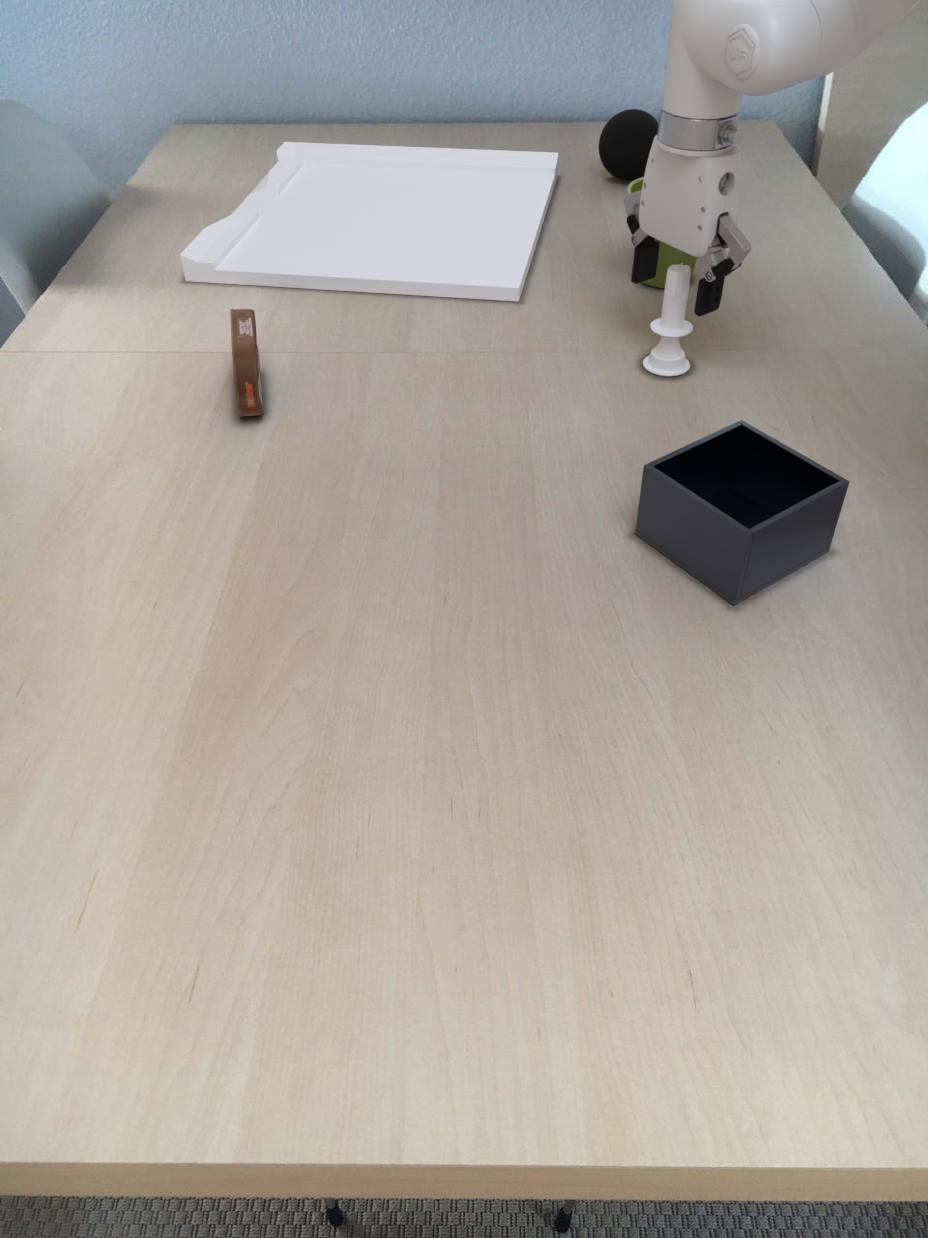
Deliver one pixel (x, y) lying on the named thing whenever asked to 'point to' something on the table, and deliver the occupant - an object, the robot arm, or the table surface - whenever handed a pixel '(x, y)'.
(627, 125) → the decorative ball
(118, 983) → the table surface
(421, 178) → the tray
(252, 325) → the brown thin box
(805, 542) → the bin
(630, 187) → the plant pot
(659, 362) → the candle
